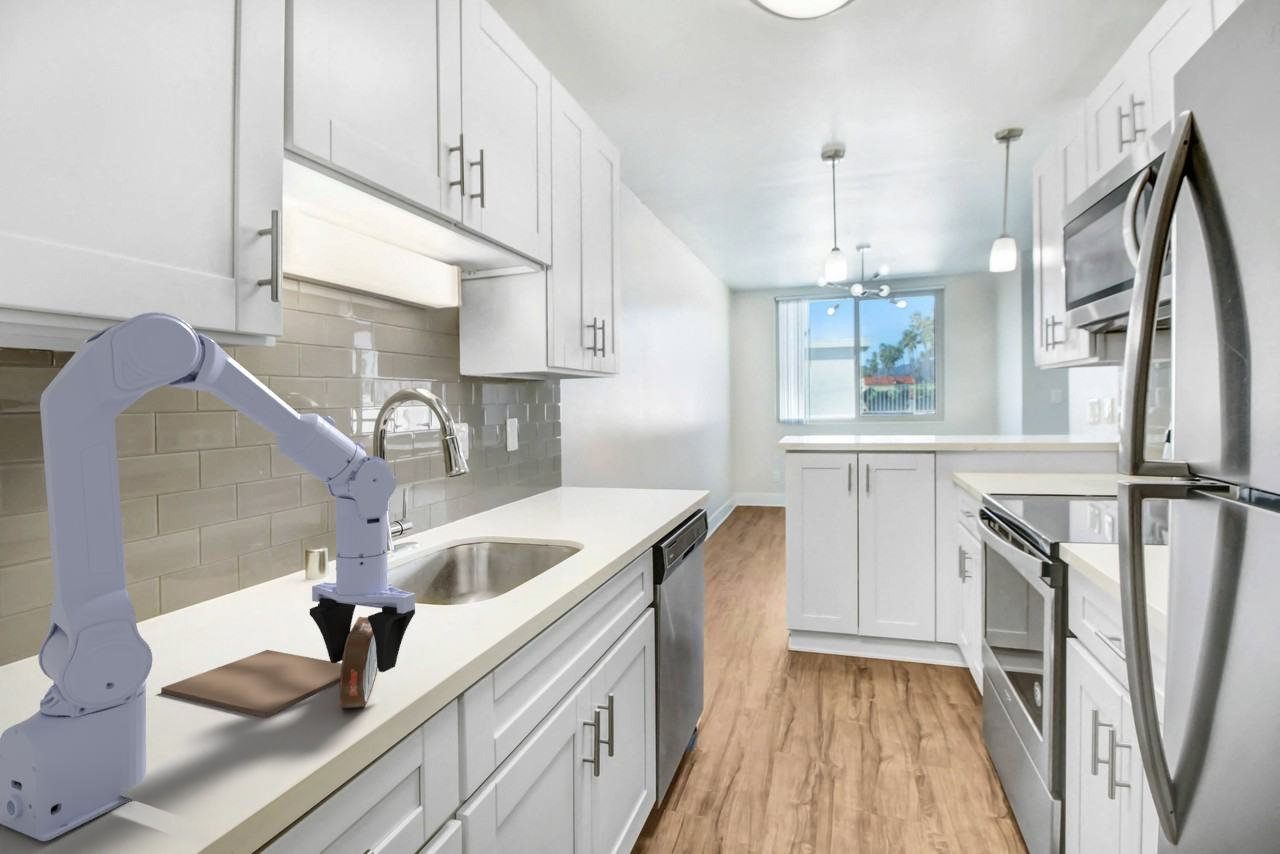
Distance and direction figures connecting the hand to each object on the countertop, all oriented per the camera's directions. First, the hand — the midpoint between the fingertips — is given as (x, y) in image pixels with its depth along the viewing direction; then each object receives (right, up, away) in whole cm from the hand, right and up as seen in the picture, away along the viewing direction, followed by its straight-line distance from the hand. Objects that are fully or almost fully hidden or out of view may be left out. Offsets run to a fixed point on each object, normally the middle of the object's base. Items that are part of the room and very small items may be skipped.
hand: (362, 664), depth 76 cm
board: (-14, -4, +3) cm, 15 cm away
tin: (0, -4, 0) cm, 4 cm away
